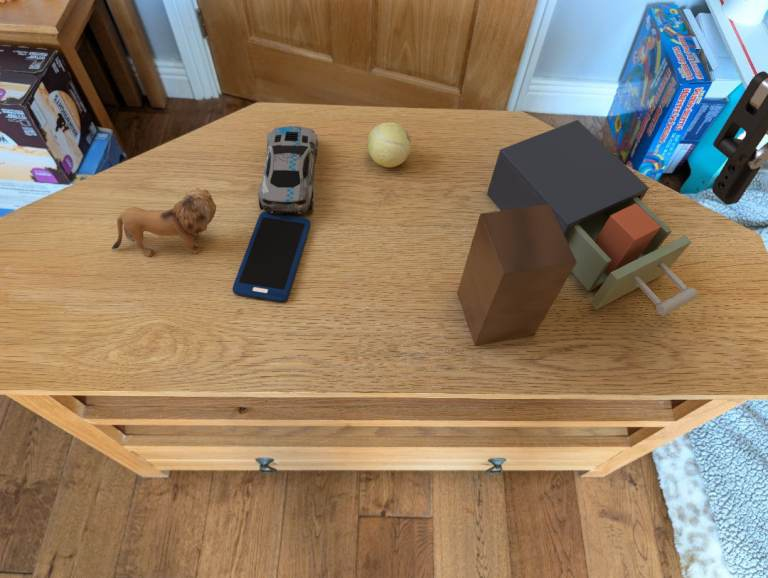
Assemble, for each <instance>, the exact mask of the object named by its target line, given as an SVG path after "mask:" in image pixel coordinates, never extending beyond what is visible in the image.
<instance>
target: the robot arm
mask: <svg viewBox="0 0 768 578" xmlns="http://www.w3.org/2000/svg"><path fill="white" fill-rule="evenodd" d="M741 129H742V130H744V131H742V133H740V134H739V135H738V133H739V131H740V130H741ZM737 135H738V136H737ZM766 135H767V136H768V72H766V71H765V70H764V71H763V70H762V71H759V72H758V73H756V74H755V75H754V76H753V77H752V79H751V80H750V81H749V83H748V84H747V86H746V88H745V90H744V91H743V92H742V94H741V96H740V98H739V100H738V101H737V103H736V104H735V106H734V108H733V109H732V111H731V113H730V114H729V116H728V118H727V119H726V121H725V123H724V124H723V125H722V127H721V129H720V131H719V132H718V134H717V136H716V137H715V139H714V141H713V143H712V146H713V147H714V148H715V149H717V150H718V151H719V152H720V153H721V154H722V155H723V156H725V157H726V159H727V160H726V161H725V163H724V164H723V166H722V168H721V170H720V172H719V173H718V174H717V176H716V179H715V180H714V181H713V183H712V187H711V188H712V194H713V195H715V197H717V198H718V199H719V200H720V201H721V202H722V203H723V204H725V205H727V206H729V205H734V204H738V203H739V201H740V200H741V198H742V197H743V196H744V194H745V193H746V191H747V189H748V188H749V187H750V185H751V183H752V182H753V180H754V179H755V177H756V176H757V174H758V173H759V171H760V170H761V166H762V165H763V164H765V163H766V162H767V161H768V141H767V142H765V144H764V145H762V146H761V147H759V149H757V148H758V146H759V145H760V143H761V142H762V140H763V139H764V138H765V136H766ZM736 136H737V137H736Z"/></svg>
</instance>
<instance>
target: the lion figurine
mask: <svg viewBox="0 0 768 578" xmlns="http://www.w3.org/2000/svg"><path fill="white" fill-rule="evenodd" d="M184 194H185V195H184V197H183V198H182V199H181V200H179V201H177V202H175V204H174V206H173V207H172V208H170V209H167V210H159V209H158V210H149V209H148V210H147V209H144V208H142V207H137V206H131V207H128V208H126V209H124V211H121V212H120V213H119V214H118V215H117V218H116V225H117V240H116V241H115V243H113V245H112V247H111V249H112V250H116V249H119V247H120V246H121V244H122V242H123V236H125V237H126V238H127V239H128V240H131V241H134V244H135V245H134V246H136V248H138V249H139V250H140V252H141V253H142V254H143V255H144V256H145V257H147V258H150V257H152V256H153V255H154V254H155V253H154V252H155V251H154V249H153V248H149V247H146V246H145V245H144V243H143V242H144V241H143V240H144V232H148V233H150V234H153V235H156V236H159V237H175V236H179V238H180V239H182V240H183V241H184V244H185V245H186V247H187V249H188V250H189V251H190V253H192V254H194V255H197V254H199V253H200V252H201V246H200V245H197V244H196V243H195V239H196V238H197V237H198V235H199V234H200V233H203V232H205V231H207V228H208V225H209V224H210V223H211V222H212V221H213V219H214V218H215V215H216V211H217V205H216V203H215V201H214V199H213V196H212V194H211V193H210V192H209V190H208V189H203V190H202V189H201V188H200V187H199V188H193V189H188V190H185V192H184ZM123 231H124V232H123ZM123 233H124V235H123Z"/></svg>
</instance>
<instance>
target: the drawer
mask: <svg viewBox="0 0 768 578" xmlns="http://www.w3.org/2000/svg"><path fill="white" fill-rule="evenodd" d="M635 203H636V204H637V205H639V206H640V207H641V208H642V209H643V210H644V211H645V212H646V213H647V214H648V215H649V216H650V217H651V218H652V219H653V220H654V221H655V222H656V223H657V224H658V225H659V226H661V228H660V229H659V230H658V232H657V233H656V235H655V236H654V237H653V239H652V240H651V241H650V243H649V244H648V245H647V247H646V248H645V250H644V251H643V252H642V254H641V255H640V256H639V258H638V259H637V260H635V261H633V262H631V263H629V264H627V265H625V266H623V267H621V268H619V269H617V270H615V271H613V272H611V273H610V274H609V276H608V275H607V274H606V273H605V272H604V271H605V270H606V268H607V267H608V265H609V264H610V262H611V261H612V260H611V259H610V258H609V257H608V256H607V255H606V254H605V253H604V251H603V250H602V249H601V248H600V247H599V246H598V245H597V244H596V243H595V241H596V239H597V237H598V236H599V234H600V232H601V230H602V229H603V227H604V225H605V224H606V222H607V220H608V219H609V217H610V216H611V215H613V214H615V213H617V212H619V211H621V210H623V209H625V208H627V207H629V206H631V205H633V204H635ZM671 232H672V229H671V227H669V226H668V225H667V224H666V223H665V222H663V221H662V219H661V218H660V217H658V216H657V215H656V213H655V212H654V211H652V210H651V208H649V206H647V205H646V204H645V203H644V202H643V201H642V200H640V199H639V198H638V197H635V198H632V199H630V200H628V201H626V202H624V203H621V204H619V205H617V206H615V207H613V208H610V209H608V210H606V211H604V212H602V213H599V214H597V215H595V216H593V217H591V218H588V219H586V220H584V221H582V222H580V223H578V224H575V225H573V226H571V228H570V230H569V232H568V234H567V236H566V240H567V243H568V245H569V247H570V249H571V251H572V253H573V255H574V257H575V259H576V261H577V263H576V265H575V267H574V268H573V270H572V272H571V274H573V275H574V276H575V279H577V280H578V281H579V282H580V283H581V284H582V286H583V287H584V288H585V289H586V290H587V292H589V291H591V290H593V289H596V288H597V287H599V286H600V287H599V289H598V290H597V292H596V293H595V295H594V296H593V298H592V299H591V300H590V302H589V304H590V305H591V306H592V308H594V310H598V309H600V308H602V307H604V306H606V305H608V304H609V303H612V302H614V301H615V300H618V299H619V298H621V297H623V296H625V295H627V294H629V293H630V292H633V291H635V290H636V289H640V290H641V291H642V292H643V293H644V294H645V295H646V296H647V298H649V299H650V301H651V302H652V303H653V304H654V305H655V311H656V312H657V314H658V315H659V316H662V317H665V316H668V314H670V313H672V312H674V311H675V310H678V309H679V308H681V307H682V306H684V305H686V304H689V303H690V302H692V301H693V300H695V299H697V298H698V296H699V293H698V291H697V290H696V289H695V288H694V287H688V286H687V285H686V284H685V283H684V282H683V281H682V280H681V279H680V278H679V277H678V276H677V275H676V274H675V273H674V272H673V270H671V267H672V266H673V265H674V264H675V263H676V261H677V260H678V259H679V258H680V257H681V255H683V254H684V252H685V251H686V249H687V248H688V247H689V246H690V245H691V244H692V240H691V239H690V238H689V237H688V236H687V235H685V234H684V235H683V236H680V237H679V238H677V239H675V240H673V241H671V242H668V243H667V244H664V242H665V240H666V239H667V238H668V237H669V235H670V234H671ZM663 244H664V245H663ZM662 245H663V246H662ZM663 275H665V276H666V277H667V278H668V279H670V281H671V282H672V283H673V284H674V285H675V286H676V287H677V288H678V289H679V290H680V291H681V292H679V293H677V294H675V295H673V296H672V297H669V298H668V299H666V300H664V301H662V300H661V298H659V296H658V295H657V294H656V293H655V292H653V290H651V288H650V287H649V286H648V285H647V284H648V283H650V282H652V281H654V280H655V279H657V278H659V277H661V276H663Z"/></svg>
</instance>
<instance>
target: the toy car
mask: <svg viewBox="0 0 768 578" xmlns="http://www.w3.org/2000/svg"><path fill="white" fill-rule="evenodd" d="M318 141H319V140H318V133H315V130H313V129H312V128H309V127H303V126H302V127H301V126H300V125H298V126H297V125H286V126H279V127H274V128H273V129H272V130H271V131H270V132H268V133H267V135H266V148H267V152H266V153H267V154H266V159H265V165H264V172H263V176H262V183H260V184H259V185H258V206H259V209H260V210H262V211H264V212H267V213H271V214H275V213H278V214H285V215H287V214H288V215H291V214H292V215H294V214H296V215H304V214H307V213H308V211H314V206H315V191H314V176H315V175H314V173H315V164H316V157H317V156H318V152H319V151H318V149H319V147H318V146H319V143H318Z"/></svg>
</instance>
